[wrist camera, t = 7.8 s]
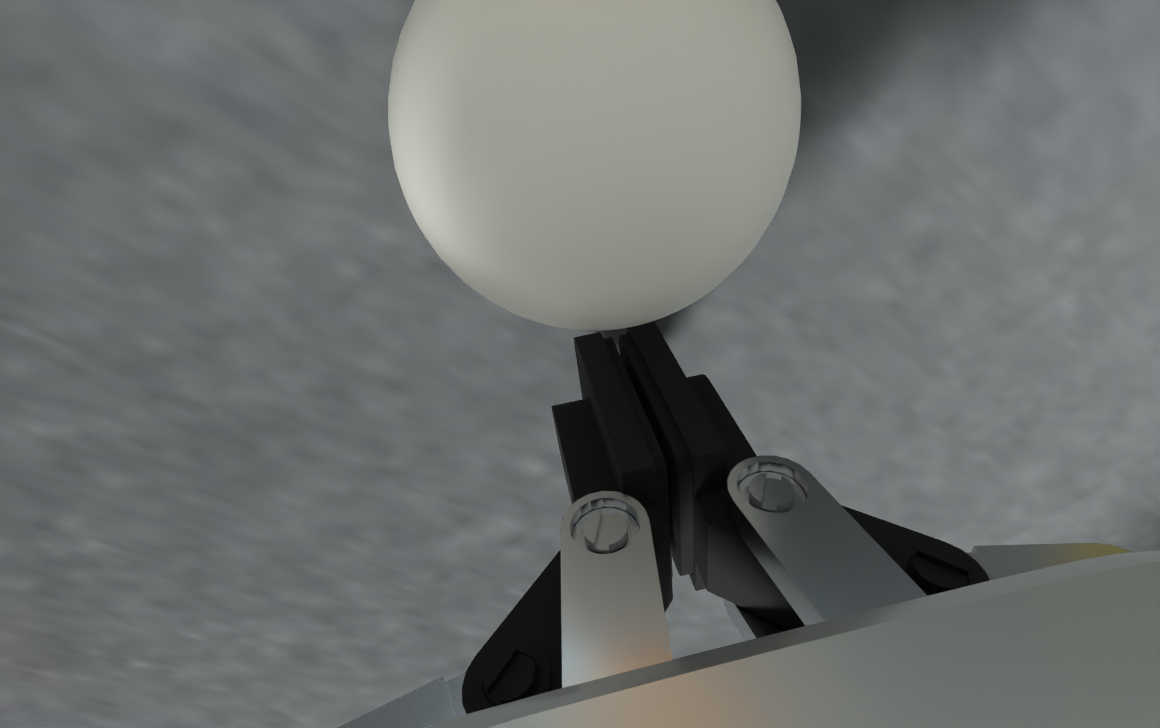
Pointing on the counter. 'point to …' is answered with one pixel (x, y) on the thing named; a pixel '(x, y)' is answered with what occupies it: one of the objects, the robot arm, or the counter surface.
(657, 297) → the cue ball
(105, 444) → the counter surface
